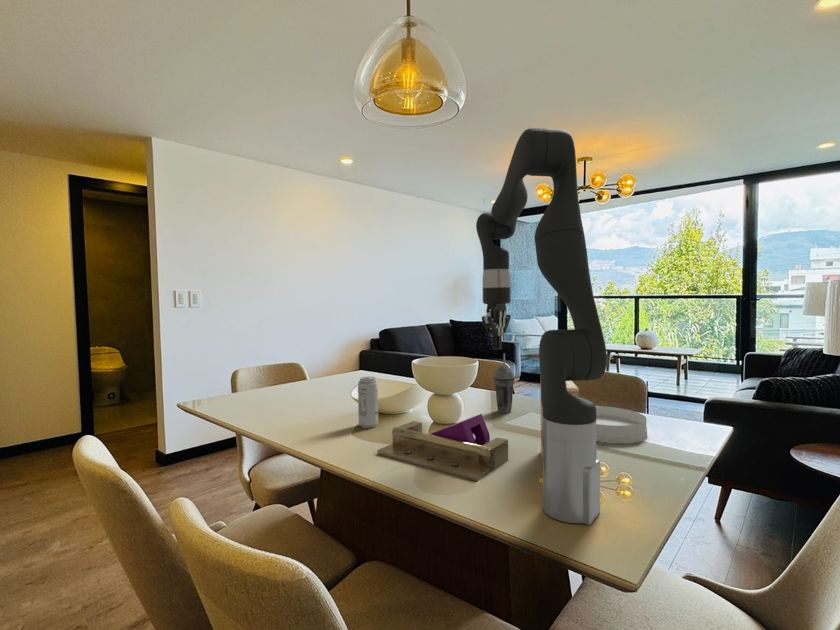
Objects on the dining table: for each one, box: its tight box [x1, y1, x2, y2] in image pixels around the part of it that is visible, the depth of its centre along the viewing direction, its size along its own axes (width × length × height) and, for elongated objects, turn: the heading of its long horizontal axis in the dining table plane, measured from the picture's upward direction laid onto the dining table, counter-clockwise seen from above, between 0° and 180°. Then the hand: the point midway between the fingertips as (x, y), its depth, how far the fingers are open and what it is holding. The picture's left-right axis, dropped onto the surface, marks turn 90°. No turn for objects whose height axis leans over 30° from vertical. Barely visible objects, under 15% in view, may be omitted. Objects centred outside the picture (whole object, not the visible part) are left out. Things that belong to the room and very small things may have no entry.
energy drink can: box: [357, 376, 379, 429], centre depth 137 cm, size 6×6×15 cm
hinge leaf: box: [376, 420, 509, 482], centre depth 109 cm, size 29×15×5 cm, turn 53°
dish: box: [595, 405, 648, 444], centre depth 128 cm, size 22×22×5 cm
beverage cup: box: [493, 352, 516, 414], centre depth 152 cm, size 7×7×20 cm
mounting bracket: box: [430, 413, 491, 445], centre depth 114 cm, size 9×8×18 cm
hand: (497, 349), depth 122 cm, fingers closed
